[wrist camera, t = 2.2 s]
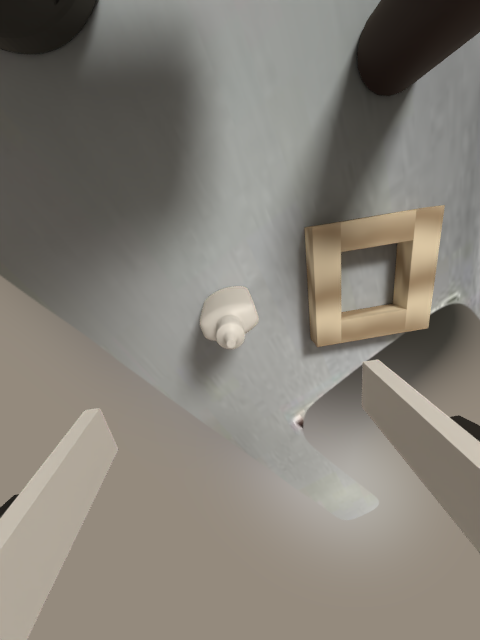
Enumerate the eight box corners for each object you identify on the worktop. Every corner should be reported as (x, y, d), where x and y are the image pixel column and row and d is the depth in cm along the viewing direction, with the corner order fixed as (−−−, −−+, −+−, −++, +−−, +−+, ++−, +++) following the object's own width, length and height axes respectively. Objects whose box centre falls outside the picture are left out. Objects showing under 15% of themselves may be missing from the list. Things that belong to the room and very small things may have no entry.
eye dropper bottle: (246, 321, 31) (260, 373, 19) (202, 314, 30) (190, 364, 19) (253, 287, 29) (273, 323, 18) (207, 279, 28) (197, 311, 17)
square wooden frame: (304, 227, 27) (312, 227, 25) (425, 207, 27) (444, 205, 25) (310, 338, 32) (317, 347, 30) (413, 321, 32) (428, 328, 30)
